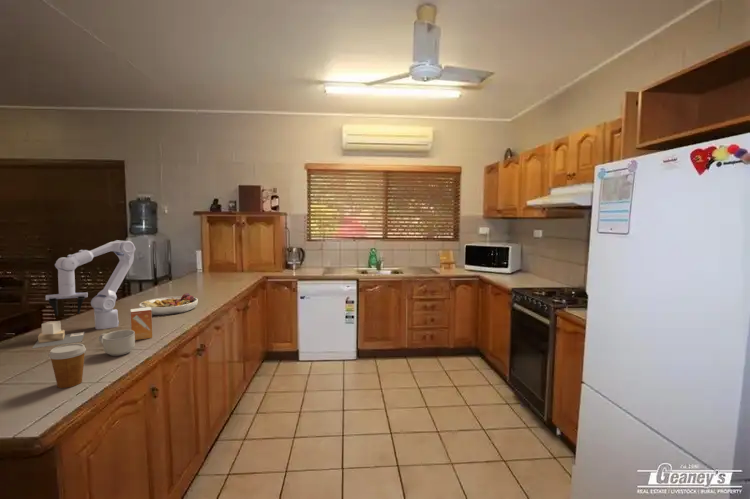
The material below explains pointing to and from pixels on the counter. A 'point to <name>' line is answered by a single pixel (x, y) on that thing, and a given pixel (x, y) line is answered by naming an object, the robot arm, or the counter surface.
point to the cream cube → (51, 327)
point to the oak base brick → (51, 337)
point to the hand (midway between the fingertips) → (67, 314)
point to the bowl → (170, 304)
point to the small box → (141, 322)
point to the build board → (67, 339)
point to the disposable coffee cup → (68, 364)
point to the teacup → (118, 342)
